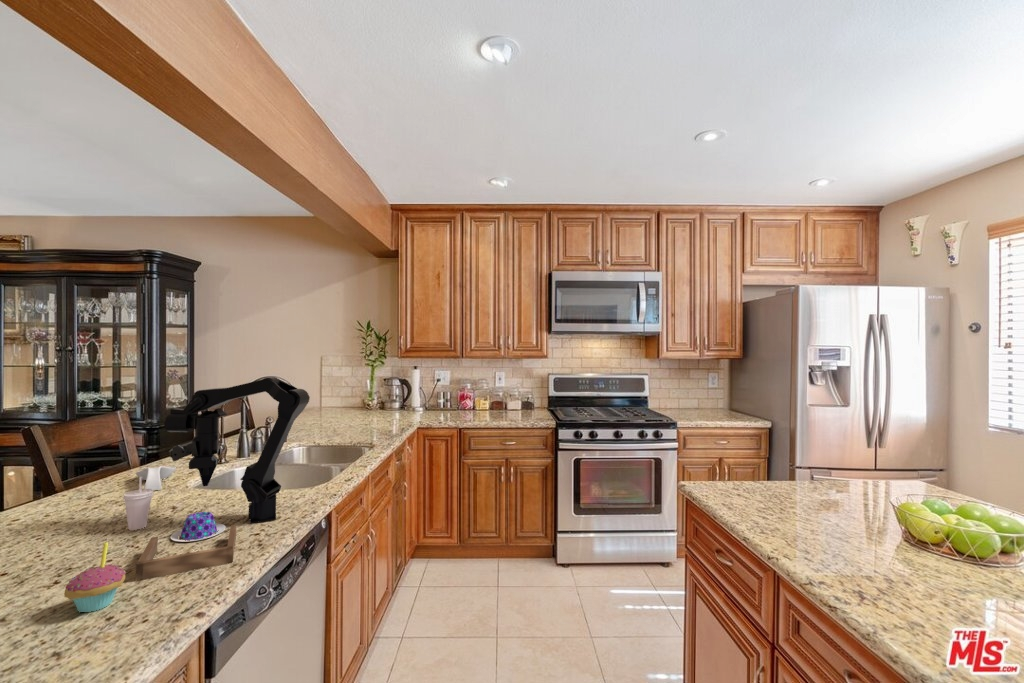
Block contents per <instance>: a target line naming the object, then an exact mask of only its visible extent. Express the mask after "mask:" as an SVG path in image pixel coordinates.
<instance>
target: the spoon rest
mask: <svg viewBox="0 0 1024 683" xmlns="http://www.w3.org/2000/svg"><path fill="white" fill-rule="evenodd" d="M176 469H177V467H176V466H163V465H160V466H157V467H146V468H144V469H141V470H138V471H135V475H136V477H138V479H140V477H141V476H142V481H144V480H146V482H145V484H144V488H143V489H152V490H158V491H161V490H163V489H162V480H160V479H164V478H166V479H168V478H169V477H171V476H172V475H173V473H175V471H176ZM167 477H168V478H167ZM164 480H165V479H164ZM160 489H161V490H160Z"/></svg>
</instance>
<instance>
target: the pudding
mask: <svg viewBox="0 0 1024 683" xmlns="http://www.w3.org/2000/svg"><path fill="white" fill-rule="evenodd" d="M218 530H219V531H218ZM225 530H226V525H225V524H223V523H217V522H216V521H215V517H214V514H213V513H212V512H211V511H200V512H195V513H193V514H189V515H188V516H187V517H186V518H185V520H184V523H183V527H182V529H178V530H177V531H176V532H173V533H172V534H171V535H170V539H171V540H172V541H173V542H181V543H182V542H183V543H184V542H186V543H188V542H196V541H202V540H206V539H210V538H212V537H214V536H217V535H219V534H221V533H223V532H224V531H225ZM217 531H218V532H217ZM215 532H216V534H215ZM180 534H181V536H180V537H179V538H184V539H181V540H179V539H178V536H179V535H180ZM212 534H213V535H212ZM185 540H186V541H185ZM187 540H190V541H187Z"/></svg>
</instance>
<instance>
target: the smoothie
mask: <svg viewBox="0 0 1024 683" xmlns="http://www.w3.org/2000/svg"><path fill="white" fill-rule="evenodd" d="M138 480H139V482H138V484H139V486H138V489H136V490H131V491H127V492H125V493H124V494H123V496H122V499H123V500H124V506H125V512H126V520H127V528H128V529H129V530H135V531H137V530H136V529H140V530H142V529H141V528H143V527H145V528H147V524H148V519H149V512H150V509H151V508H150V507H151V502H152V497H153V495H154V491H153V490H152V489H144V488H143V480H142V476H141V477H140V478H138ZM143 529H144V528H143ZM129 530H128V531H129Z"/></svg>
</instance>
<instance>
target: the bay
mask: <svg viewBox="0 0 1024 683" xmlns="http://www.w3.org/2000/svg"><path fill="white" fill-rule="evenodd" d="M229 528H230V529H229V534H228V540H227V545H226V546H222V547H217V548H216V547H215V548H211V549H205V550H200V551H199V550H198V551H194V552H188V553H187V552H186V553H182V554H176V555H170V556H165V557H159V558H155V557H156V555H157V553H156V552H158V540H159V536H153V537H152V536H151V537H150V539H149V542H148V543H147V545H146V546H145V548H144V549H143V551H142V553H141V555H140V557H139V559H138V560H137V562H136V563H135V577H134V579H135V580H139V581H141V580H140V579H144V580H148V579H147V578H150V579H153V578H152V577H155V578H158V577H157V576H160V577H164V575H165V576H169V574H171V575H174V573H176V574H180V573H179V572H181V573H185V572H184V571H186V572H190V571H189V570H192V571H195V570H194V569H197V570H200V568H202V569H206V568H205V567H207V568H211V567H210V566H213V567H216V566H215V565H218V566H222V565H221V564H223V565H228V564H232V562H233V563H234V555H235V554H234V553H235V548H236V547H235V546H236V541H237V540H236V539H237V524H231V525H230V527H229ZM155 554H156V555H155ZM154 556H155V557H154ZM153 558H154V559H153ZM227 563H228V564H227ZM135 580H134V581H135Z"/></svg>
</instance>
